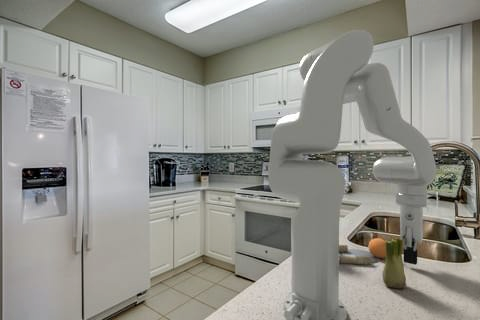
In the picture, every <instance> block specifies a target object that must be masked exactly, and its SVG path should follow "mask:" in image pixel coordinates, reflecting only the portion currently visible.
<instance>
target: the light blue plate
mask: <svg viewBox="0 0 480 320" xmlns="http://www.w3.org/2000/svg"><path fill="white" fill-rule="evenodd" d="M341 255H357V256H370V258H371V264H376V263H378V262H379V261H381V260H380V259H381V258H377V257H375V256H373V255H372V254H371V253H370V251H369V250H364V249H358V248H348V253H347V252H341Z"/></svg>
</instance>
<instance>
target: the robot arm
mask: <svg viewBox="0 0 480 320" xmlns="http://www.w3.org/2000/svg"><path fill="white" fill-rule="evenodd" d="M374 47H375V46H374V39H373V36H372V35H371V33H369V31H366V30H363V29H354V30H350V31H347V32H345V33H343V34H341V35H340V36H338V37H337V38H335V39H334V40H332V41H330V42H328V43H326V44H323V45H322V46H320V47H318V48H316V49H314V50H312V51H309V52H308V53H307V54H306V55H304V56H303V58H302V59H301V61H300V64H299V72H300V73H299V74H300V76H301V79H302V80H303V87H302V93H301V99H300V107H299V110H298V112H297V113H292V114H288V115H285V116H283V117H282V118H280V119H279V120H278V121H277V123H276V124H275V126H274V128H273V131H272V133H271V139H270V148H269V149H270V150H269V162H268V185H269V188H270V190H271V192H272V194H273V195H274V196H276V197H277V198H279V199H280V200H281V199H282V200H284V201H285V200H286V201H290V202H293V203H297V204H299V206H298V209H297V211H296V213H295V214H294V217H293V219H292V223H291V292H289V293H288V294H287V295H285V298H284V302H283V305H284V310H285V311H284V313H283V317H284V319H286V320H347V318H348V309H347V307H346V306H345V304H344V303H343V302H342V301H341V300H340V294H339V292H340V290H339V289H340V288H339V287H340V286H339V285H340V280H339V279H340V260H339V256H340V252H339V245H340V219H341V216H340V215H341V210H342V209H341V208H342V203H343V198H344V194H345V188H346V179H345V175H344V174H343V172H342V170H341V168H340V167H339V166H337V165H336V164H334V163H331V162H329V161H325V160H319V159H317V160H316V159H315V160H314V159H312V160H311V159H303V155H324V154H328V153H332V152H333V151H335V150H336V149H337V148H338V145H339V143H340V139H341V134H342V133H341V132H342V122H343V121H342V119H343V118H342V117H343V107H344V106H343V105H346V104H350V103H355V102H356V104H357V107H358V110H359V112H360V116H361V120H362V122H363V125H364V129H365V130H366V132H368V133H370V134H373V135H375V136H379V137H380V138H384V139H386V140H390V141H392V142H395V143H396V144H398V145H400V146H401V147H403V148H405V149H406V150H407V151H408V152H409V154H410V156H385V157H381V158H379V159H377V160H376V161H375V162H374V163H373V165H372V175H373V177H374V178H375V179H376V180H377V182H380V183H383V184H388V185H389V184H391V185H395V204H396V205H398V206H399V207H400V208H399V209H400V211H399V218H400V219H399V222H400V223H399V228H400V229H399V230H400V231H399V232H400V239H402V240H403V241H404V242H403V243H404V244H403V263H406V264H411V265H415V266H416V265H418V249H417V247H418V246H417V244H421V243H423V238H424V210H423V208H427V207H428V186H429V185H431V184H432V183H433V182H434V181H435V180H436V176H437V164H436V160H435V157H434V153H433V148H432V146H431V143H430V142H429V140H428V139H427V138H426V137H425V135H424V134H423V133H421V131H420V130H418V128H416V127H415V126H413V125H412V124H410V123H409V122H407V120H404V118H403V117H402V114H401V110H400V107H399V103H398V99H397V95H396V92H395V89H394V86H393V85H394V84H393V80H392V77H391V73H390V71H389V69H388V67H387V65H385V64H383V63H380V62H373V63H369V61H370V60H371V57H372V55H373V51H374ZM367 63H368V64H367ZM417 242H418V243H417Z"/></svg>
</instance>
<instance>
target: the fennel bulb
mask: <svg viewBox="0 0 480 320" xmlns="http://www.w3.org/2000/svg"><path fill="white" fill-rule="evenodd" d="M385 241H386V257H385V263H384V266H383V270H382V275H381V277H382V281H383V284H384V285H385V286H387V287H389V288H394V289H397V290H401V289H404V288H405V287H406V285H407V279H406V274H405V267H404V260H403V255H402V254H403V241H404V240H402V239H401V237H400V238H399V237H392V239H391V241H390V240H385Z"/></svg>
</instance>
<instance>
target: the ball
mask: <svg viewBox="0 0 480 320" xmlns="http://www.w3.org/2000/svg"><path fill="white" fill-rule="evenodd" d="M386 241H387V240H385V239H382V238H378V237H377V238H372V239H371V240H370V241H369V243H368V246H367V247H368V252H370V253H371V254H372V255H373V256H375V257H377V258H380V259H384V258H386Z"/></svg>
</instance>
